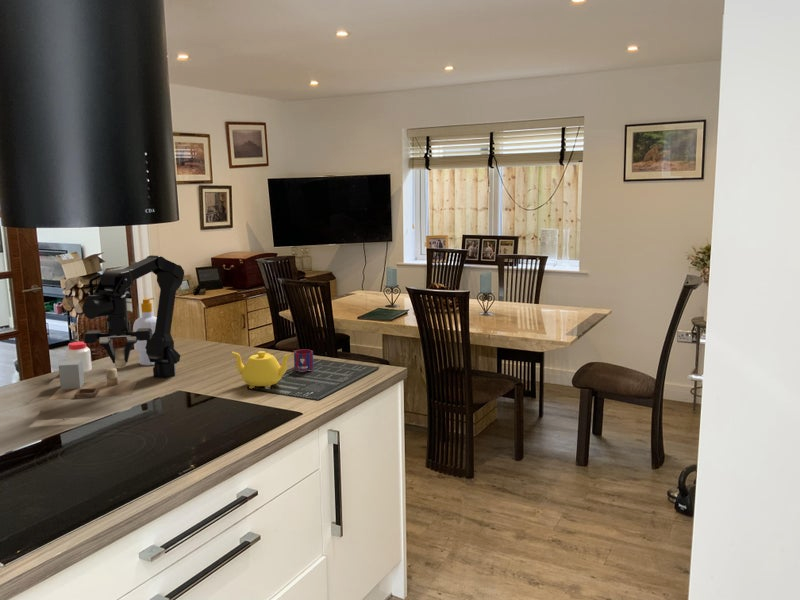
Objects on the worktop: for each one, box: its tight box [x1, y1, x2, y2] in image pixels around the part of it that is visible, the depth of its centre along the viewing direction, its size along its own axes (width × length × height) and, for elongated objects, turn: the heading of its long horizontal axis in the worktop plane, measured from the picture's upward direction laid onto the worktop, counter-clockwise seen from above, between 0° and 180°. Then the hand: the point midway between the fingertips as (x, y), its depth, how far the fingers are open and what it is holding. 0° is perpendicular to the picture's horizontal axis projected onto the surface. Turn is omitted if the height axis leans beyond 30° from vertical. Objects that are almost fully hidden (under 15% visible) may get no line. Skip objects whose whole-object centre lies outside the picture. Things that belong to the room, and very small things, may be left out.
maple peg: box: [114, 347, 127, 368], centre depth 196 cm, size 3×3×5 cm
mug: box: [293, 348, 314, 371], centre depth 230 cm, size 7×10×7 cm
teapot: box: [231, 350, 292, 388], centre depth 211 cm, size 20×15×12 cm
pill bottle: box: [64, 341, 93, 373], centre depth 222 cm, size 8×8×11 cm
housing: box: [58, 360, 85, 389], centre depth 203 cm, size 6×6×8 cm
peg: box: [105, 367, 119, 386], centre depth 206 cm, size 3×3×5 cm
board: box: [48, 379, 140, 401], centre depth 201 cm, size 23×16×3 cm
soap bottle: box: [132, 297, 157, 367], centre depth 235 cm, size 10×10×24 cm
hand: (120, 362), depth 196 cm, fingers closed on maple peg, 3 cm apart
